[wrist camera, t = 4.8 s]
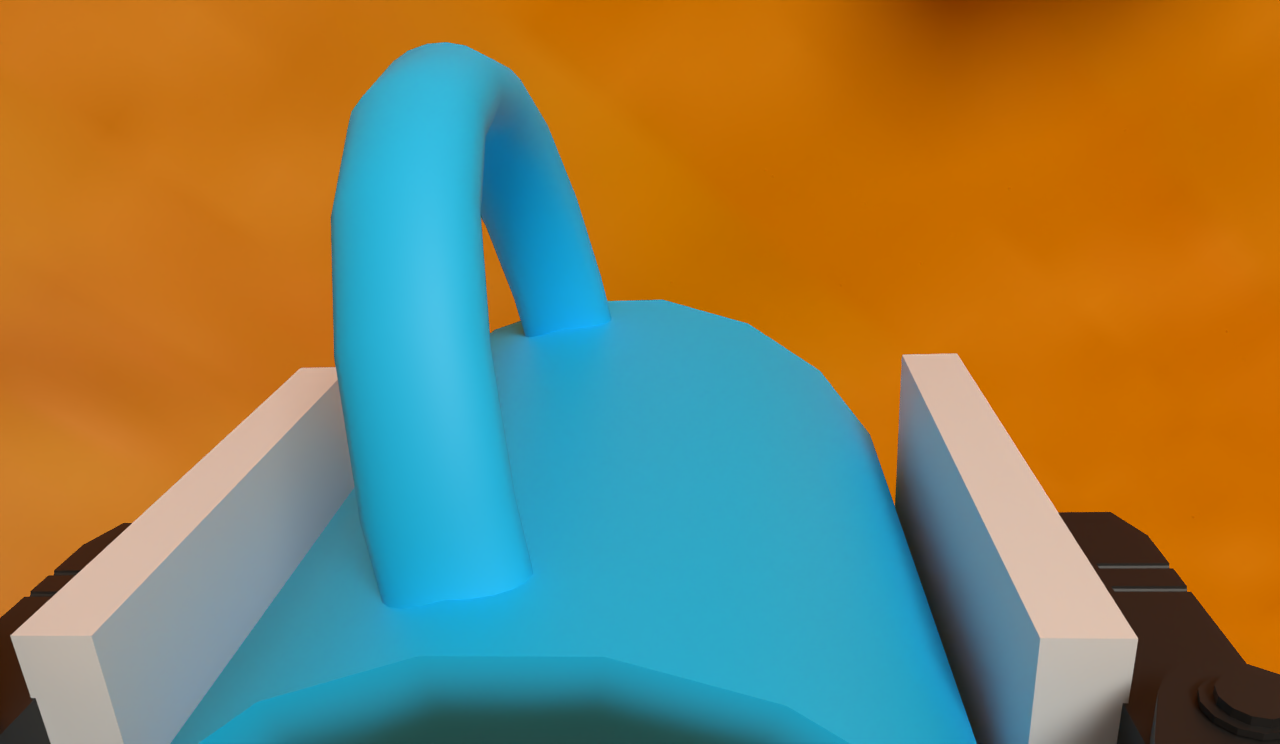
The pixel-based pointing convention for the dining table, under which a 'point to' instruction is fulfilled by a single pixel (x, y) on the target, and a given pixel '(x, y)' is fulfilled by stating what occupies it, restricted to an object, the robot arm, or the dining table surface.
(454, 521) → the mug
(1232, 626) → the dining table surface
